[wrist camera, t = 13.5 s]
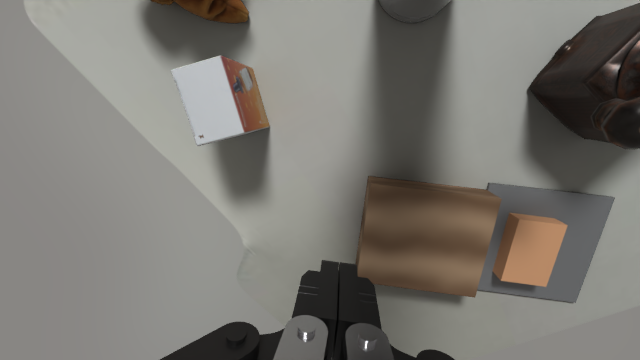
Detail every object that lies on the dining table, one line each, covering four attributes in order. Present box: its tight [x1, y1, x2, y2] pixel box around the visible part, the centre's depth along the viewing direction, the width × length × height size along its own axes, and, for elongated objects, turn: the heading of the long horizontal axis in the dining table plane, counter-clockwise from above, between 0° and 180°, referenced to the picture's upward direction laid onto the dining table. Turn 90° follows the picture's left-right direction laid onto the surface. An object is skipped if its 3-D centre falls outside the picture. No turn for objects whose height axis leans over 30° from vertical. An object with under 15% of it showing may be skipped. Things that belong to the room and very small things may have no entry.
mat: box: [477, 183, 615, 303], centre depth 41 cm, size 16×16×1 cm
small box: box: [171, 55, 270, 146], centre depth 35 cm, size 8×6×10 cm
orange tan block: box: [493, 213, 568, 287], centre depth 40 cm, size 9×6×2 cm, turn 174°
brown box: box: [356, 176, 502, 297], centre depth 41 cm, size 14×16×4 cm
